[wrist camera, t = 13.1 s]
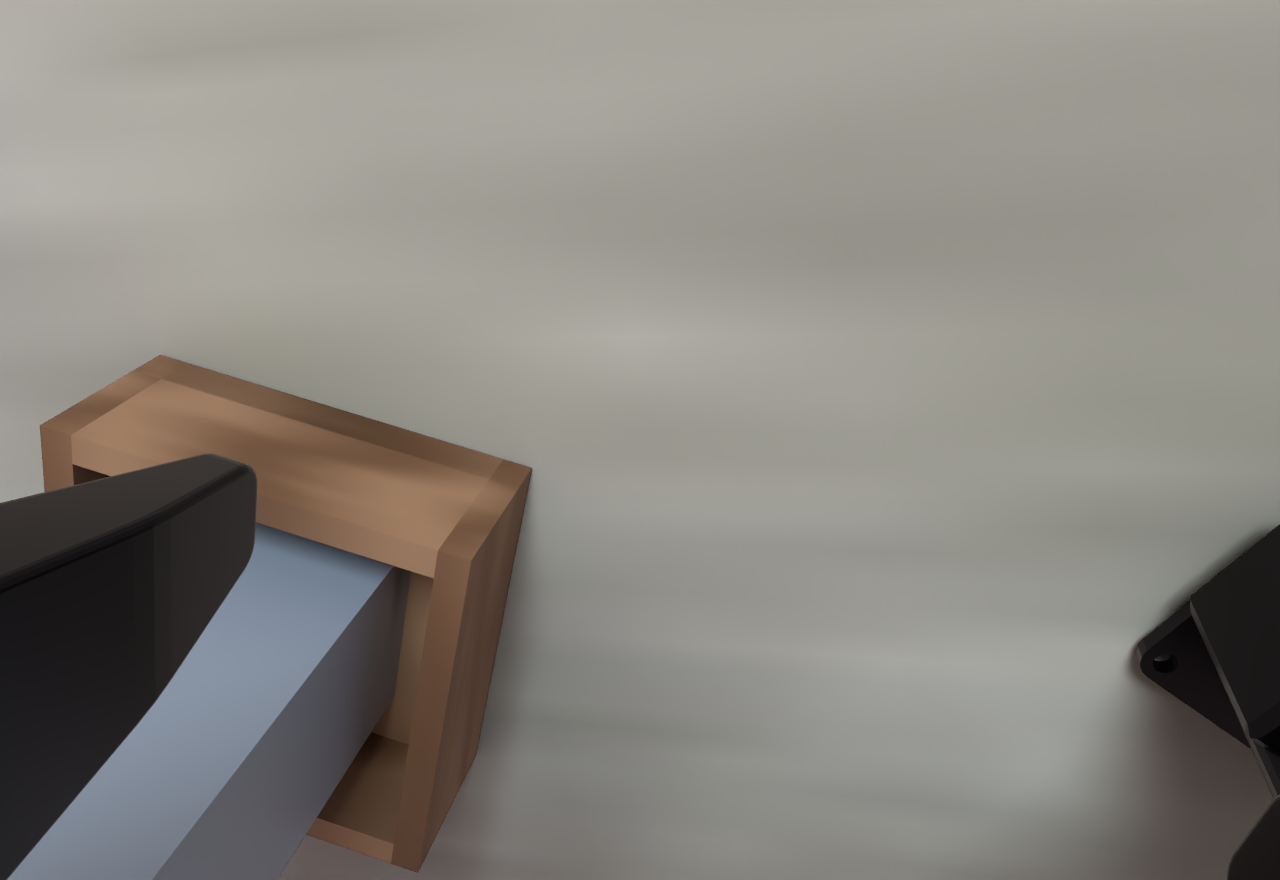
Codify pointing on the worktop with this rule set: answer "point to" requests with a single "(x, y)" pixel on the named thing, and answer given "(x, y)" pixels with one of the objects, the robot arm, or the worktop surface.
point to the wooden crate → (359, 523)
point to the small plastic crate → (244, 726)
